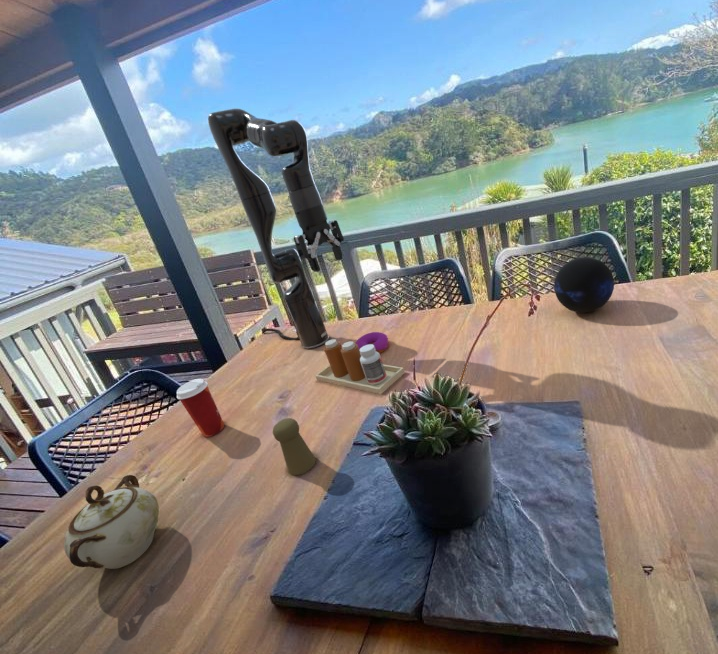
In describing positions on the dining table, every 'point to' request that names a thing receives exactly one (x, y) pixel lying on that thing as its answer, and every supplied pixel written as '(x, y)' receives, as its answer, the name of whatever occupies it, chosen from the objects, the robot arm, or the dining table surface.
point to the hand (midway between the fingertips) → (328, 265)
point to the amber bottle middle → (352, 360)
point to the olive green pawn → (293, 447)
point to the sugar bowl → (112, 526)
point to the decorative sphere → (584, 285)
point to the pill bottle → (372, 365)
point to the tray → (391, 374)
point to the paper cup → (201, 406)
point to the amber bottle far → (335, 358)
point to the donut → (374, 341)
